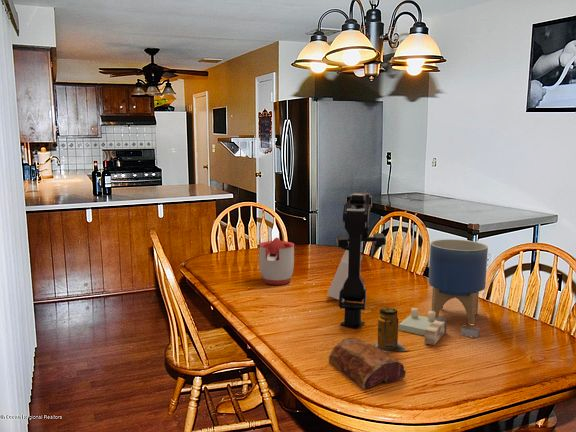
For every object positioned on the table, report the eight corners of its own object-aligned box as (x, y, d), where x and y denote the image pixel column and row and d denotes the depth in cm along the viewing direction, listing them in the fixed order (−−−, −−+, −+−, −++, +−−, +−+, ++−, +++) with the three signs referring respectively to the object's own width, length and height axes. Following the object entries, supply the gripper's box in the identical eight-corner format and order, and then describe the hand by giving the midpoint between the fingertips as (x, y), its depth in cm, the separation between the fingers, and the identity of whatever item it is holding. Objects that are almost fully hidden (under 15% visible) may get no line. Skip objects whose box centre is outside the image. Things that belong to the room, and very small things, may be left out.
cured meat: (363, 343, 161) (363, 322, 160) (418, 376, 139) (419, 352, 138) (313, 356, 153) (313, 334, 152) (363, 392, 131) (363, 367, 130)
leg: (436, 329, 172) (437, 316, 171) (447, 331, 170) (448, 318, 169) (423, 342, 161) (424, 329, 160) (434, 345, 159) (435, 331, 158)
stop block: (476, 338, 165) (477, 331, 165) (460, 335, 168) (461, 327, 168) (478, 335, 168) (479, 328, 168) (463, 332, 171) (463, 325, 170)
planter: (416, 311, 191) (419, 241, 187) (458, 305, 198) (462, 237, 194) (449, 328, 173) (453, 252, 170) (495, 322, 180) (500, 248, 176)
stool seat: (428, 336, 167) (428, 321, 166) (398, 330, 172) (399, 315, 171) (439, 325, 177) (439, 311, 176) (410, 319, 182) (411, 305, 181)
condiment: (373, 343, 161) (374, 306, 159) (400, 342, 162) (401, 305, 160) (380, 352, 154) (381, 314, 152) (407, 351, 155) (409, 313, 153)
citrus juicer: (253, 286, 222) (253, 240, 219) (264, 276, 238) (264, 233, 235) (288, 289, 218) (289, 242, 215) (297, 278, 235) (298, 235, 232)
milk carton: (343, 302, 201) (362, 259, 196) (326, 295, 201) (344, 251, 197) (345, 296, 207) (363, 254, 203) (328, 289, 208) (346, 247, 204)
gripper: (380, 214, 208) (379, 249, 214) (334, 216, 208) (334, 251, 213) (386, 225, 198) (385, 261, 204) (338, 227, 197) (338, 264, 203)
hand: (360, 259), depth 206 cm, fingers open, 9 cm apart
